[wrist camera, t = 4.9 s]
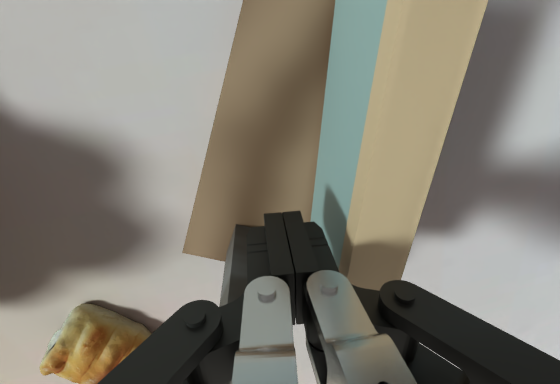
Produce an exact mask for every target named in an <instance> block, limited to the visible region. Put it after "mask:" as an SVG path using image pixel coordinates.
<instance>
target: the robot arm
mask: <svg viewBox="0 0 560 384" xmlns="http://www.w3.org/2000/svg"><path fill="white" fill-rule="evenodd" d="M246 238H247V287H246V289H245V291H244V292H243V294H242V295H241V296H240V297H239V298H237V299H236V300H234V301H233V302H230V303H228V304H226V305H223V306H220V307H218V306H217V305H216V304H214V303H213V302H211V301H207V300H197V301H193V302H190V303H188V304H186V305H184V306H182V307H181V308H180V309H179V310H177V311H176V312H175V313H174V314H173V315H172V316H171V317H170V318H169V319H168V320H166V321H165V322H164V323H163V324H162V325H161V326H160V327H159V328H158V329H157V330H156V331H154V332H153V333H152V334H151V335H150V336H149V337H148V338H147V339H146V340H145V341H143V342H142V343H141V344H140V345H139V346H138V347H137V348H136V349H135V350H134V351H132V352H131V353H130V354H129V355H128V356H127V357H126V358H125V359H124V360H123V361H121V362H120V363H119V364H118V365H117V366H116V367H115V368H114V369H113V370H112V371H110V372H109V373H108V374H107V375H106V376H105V377H104V378H103V379H102V380H101V381H99V382H98V383H97V384H230V381H231V380H232V384H298V378H297V366H296V354H295V348H294V341H293V326H292V325H295V318H296V324H304V326H305V331H306V347H307V351H308V354H309V358H310V361H311V364H312V368H313V371H314V375H315V378H316V382H317V384H560V360H558V359H556V358H554V357H552V356H550V355H548V354H546V353H544V352H542V351H540V350H539V349H537V348H535V347H533V346H531V345H529V344H527V343H525V342H523V341H521V340H520V339H518V338H516V337H514V336H512V335H510V334H508V333H506V332H504V331H502V330H500V329H499V328H497V327H495V326H493V325H491V324H489V323H487V322H485V321H483V320H481V319H479V318H478V317H476V316H474V315H472V314H470V313H468V312H466V311H464V310H462V309H460V308H459V307H457V306H455V305H453V304H451V303H449V302H447V301H445V300H443V299H441V298H439V297H438V296H436V295H434V294H432V293H430V292H428V291H426V290H424V289H422V288H420V287H418V286H417V285H415V284H412V283H410V282H407V281H403V280H392V281H388V282H386V283H384V284H383V285H382V287H381V288H380V291H379V290H372V289H365V288H360V287H357V286H355V285H352V284H351V283H350V281H349V280H348V279H347V278H346V277H345V276H344V275H343V274H341V273H340V272H339V270H338V267H337V265H336V262H335V260H334V257H333V255H332V252H331V250H330V247H329V246H328V242H327V240H326V238H325V235H324V232H323V230H322V228H321V227H320V226H319V225H318V224H316V223H315V222H314V221H313V222H304V221H303V218H302V215H301V212H300V211H288V212H282V213H281V212H277V213H265V214H264V226H258V227H251V229H250V230H249V232H248V234H247V235H246ZM419 342H420V343H421V344H423V345H424V346H426V347H428V348H429V349H431V350H432V351H434V352H435V353H437V354H438V355H440V356H442V357H443V358H445V359H446V360H448V361H449V362H451V363H452V364H454V365H456V366H457V367H459V368H460V369H461V370H460V369H459V368H457V367H456V366H454V365H452V364H451V363H449V362H448V361H446V360H445V359H443V358H442V357H440V356H438V355H437V354H435V353H434V352H432V351H431V350H429V349H428V348H426V347H424V346H423V345H421V344H420V343H419Z"/></svg>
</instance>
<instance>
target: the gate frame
mask: <svg viewBox="0 0 560 384" xmlns="http://www.w3.org/2000/svg"><path fill="white" fill-rule="evenodd" d="M334 9H335V0H243V3H242V8H241V12H240V16H239V20H238V24H237V28H236V32H235V37H234V41H233V45H232V49H231V53H230V57H229V61H228V66H227V70H226V74H225V78H224V82H223V86H222V91H221V95H220V99H219V103H218V107H217V111H216V115H215V120H214V124H213V128H212V132H211V136H210V140H209V144H208V149H207V153H206V157H205V161H204V165H203V169H202V174H201V178H200V182H199V186H198V190H197V194H196V198H195V203H194V207H193V211H192V215H191V219H190V223H189V228H188V232H187V236H186V240H185V244H184V248H183V252H182V253H186V254H191V255H196V256H201V257H206V258H210V259H215V260H220V261H225V268H224V276H223V283H222V291H221V298H220V306H223V305H226V304H228V303H230V302H233V301H234V300H236V299H237V298H239V297H240V296H241V295H242V294H243V292H244V291H245V289H246V287H247V238H246V235H247V234H248V232H249V230H250V229H251V227H258V226H264V214H265V213H277V212H281V213H282V212H288V211H300V212H301V215H302V218H303V221H304V222H310V221H311V212H312V203H313V194H314V186H315V177H316V168H317V159H318V150H319V141H320V132H321V124H322V115H323V106H324V97H325V88H326V79H327V70H328V62H329V53H330V44H331V35H332V26H333V17H334ZM220 306H219V307H220ZM230 384H232V380H231V381H230Z"/></svg>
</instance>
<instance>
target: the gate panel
mask: <svg viewBox="0 0 560 384" xmlns="http://www.w3.org/2000/svg"><path fill="white" fill-rule="evenodd" d="M487 3H488V0H335V9H334V17H333V26H332V35H331V44H330V53H329V62H328V70H327V79H326V88H325V97H324V106H323V115H322V124H321V132H320V141H319V150H318V159H317V168H316V177H315V186H314V194H313V203H312V212H311V221H310V222H313V221H314V222H315V223H316V224H318V225H319V226H320V227H321V228H322V230H323V232H324V235H325V238H326V240H327V242H328V246H329V247H330V250H331V252H332V255H333V257H334V260H335V262H336V265H337V267H338V270H339V272H340V273H341V274H343V275H344V276H345V277H346V278H347V279H348V280H349V281H350V283H351V284H352V285H355V286H357V287H360V288H365V289H372V290H379V291H380V288H381V287H382V285H383V284H384V283H386V282H388V281H392V280H401V277H402V274H403V271H404V268H405V265H406V262H407V258H408V255H409V252H410V249H411V246H412V242H413V239H414V236H415V233H416V230H417V226H418V223H419V220H420V217H421V214H422V210H423V207H424V204H425V201H426V198H427V194H428V191H429V188H430V185H431V182H432V179H433V175H434V172H435V169H436V166H437V163H438V159H439V156H440V153H441V150H442V147H443V143H444V140H445V137H446V134H447V131H448V127H449V124H450V121H451V118H452V115H453V111H454V108H455V105H456V102H457V99H458V96H459V92H460V89H461V86H462V83H463V80H464V76H465V73H466V70H467V67H468V64H469V60H470V57H471V54H472V51H473V48H474V44H475V41H476V38H477V35H478V32H479V28H480V25H481V22H482V19H483V16H484V12H485V9H486V6H487Z"/></svg>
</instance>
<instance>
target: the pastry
mask: <svg viewBox="0 0 560 384" xmlns="http://www.w3.org/2000/svg"><path fill="white" fill-rule="evenodd" d="M151 334H152V333H151V332H150V331H149V330H148V329H147V328H146V327H145V326H144V325H143V324H141V323H136V322H134V321H132V320H130V319H128V318H126V317H124V316H121V315H119V314H118V313H116V312H113V311H111V310H108V309H105V308H103V307H100V306H96V305H93V304H81V305H80V306H77V307H76V308H74V309H73V310H72V311H71V313H70V314H69V316H68V318H67V319H66V321H65V322H64V324H63V327H62V328H61V329H60V330H58V331H57V332H56V333H55V334H54V335H53V337H52V339H51V340H50V343H49V345H48V350H47V352H46V354H45V356H44V358H43V360H42V363H41V365H40V371H41V373H42V374H43V375H48V374H51V373H54V374H56V375H58V376H59V377H62V378H65V379H68V380H70V381H72V382H75V383H79V384H97V383H98V382H99V381H101V380H102V379H103V378H104V377H105V376H106V375H107V374H108V373H109V372H110V371H112V370H113V369H114V368H115V367H116V366H117V365H118V364H119V363H120V362H121V361H123V360H124V359H125V358H126V357H127V356H128V355H129V354H130V353H131V352H132V351H134V350H135V349H136V348H137V347H138V346H139V345H140V344H141V343H142V342H143V341H145V340H146V339H147V338H148V337H149V336H150V335H151Z"/></svg>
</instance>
